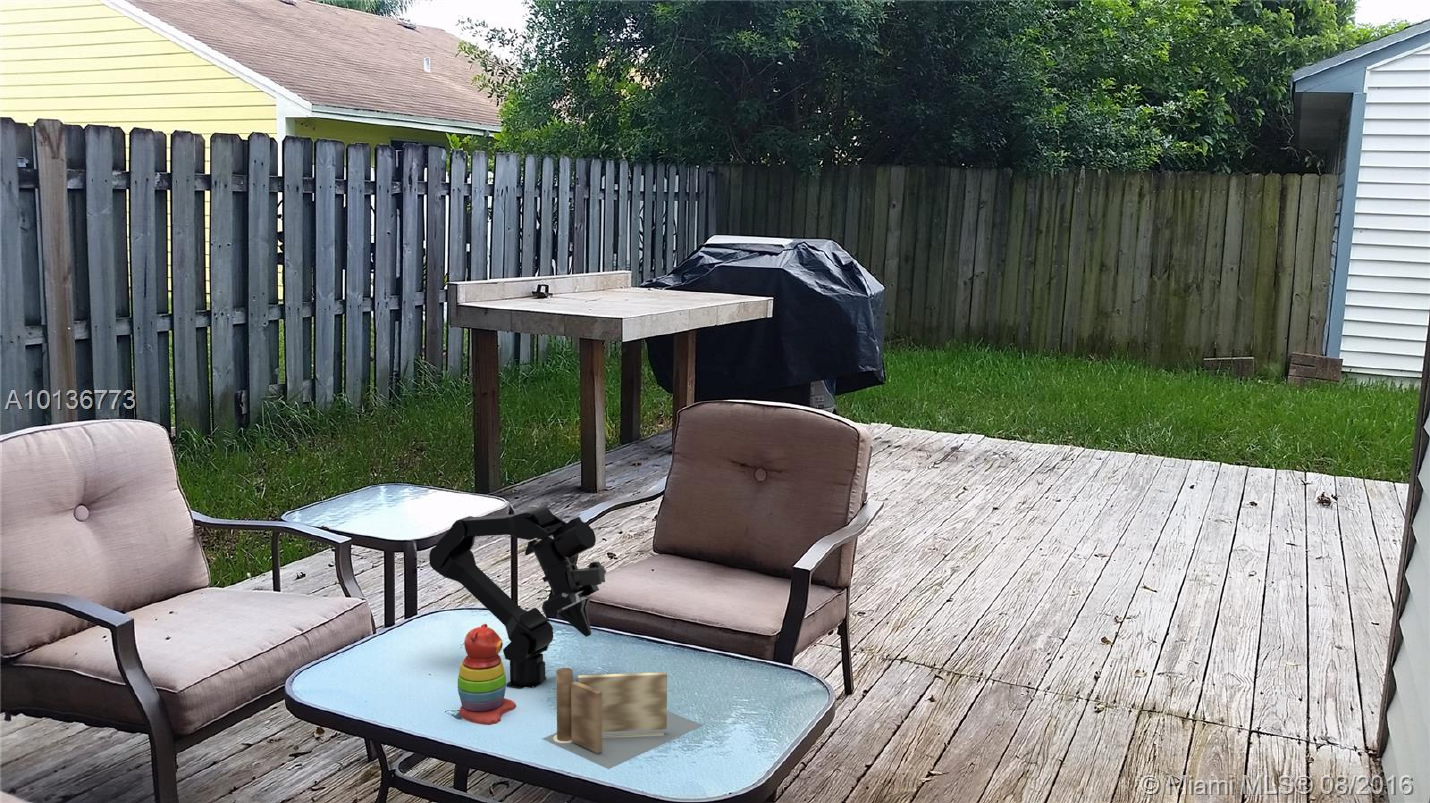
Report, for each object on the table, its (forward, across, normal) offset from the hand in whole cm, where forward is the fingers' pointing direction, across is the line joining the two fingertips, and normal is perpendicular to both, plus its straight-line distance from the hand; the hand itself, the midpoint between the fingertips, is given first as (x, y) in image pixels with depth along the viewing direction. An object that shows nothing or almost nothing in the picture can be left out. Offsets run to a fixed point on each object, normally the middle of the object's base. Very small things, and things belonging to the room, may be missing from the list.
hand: (588, 635), depth 236 cm
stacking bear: (+5, -10, +23) cm, 25 cm away
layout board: (+19, -13, -3) cm, 23 cm away
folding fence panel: (+18, -15, -4) cm, 24 cm away
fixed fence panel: (+17, -20, +3) cm, 26 cm away
